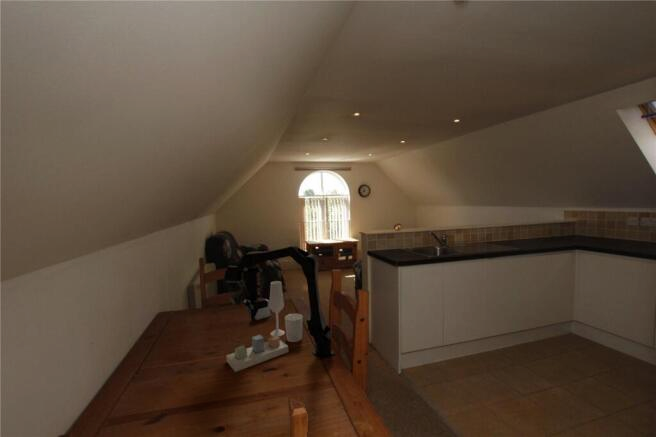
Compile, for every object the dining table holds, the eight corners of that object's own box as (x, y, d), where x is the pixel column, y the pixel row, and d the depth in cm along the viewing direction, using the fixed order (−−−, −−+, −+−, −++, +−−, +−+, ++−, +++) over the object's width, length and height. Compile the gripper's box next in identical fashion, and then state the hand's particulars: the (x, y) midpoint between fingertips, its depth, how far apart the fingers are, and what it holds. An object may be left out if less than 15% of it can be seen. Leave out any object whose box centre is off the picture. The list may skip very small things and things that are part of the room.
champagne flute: (286, 334, 135) (284, 283, 134) (271, 337, 133) (269, 285, 131) (283, 329, 141) (281, 279, 140) (269, 331, 139) (267, 281, 138)
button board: (288, 351, 119) (288, 345, 119) (235, 371, 106) (235, 365, 106) (277, 343, 126) (277, 338, 126) (226, 361, 113) (226, 355, 113)
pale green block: (247, 361, 111) (246, 348, 111) (238, 364, 109) (238, 351, 109) (243, 358, 114) (243, 345, 114) (235, 361, 112) (234, 348, 112)
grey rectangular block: (264, 350, 116) (263, 337, 115) (255, 352, 113) (255, 340, 113) (260, 346, 118) (259, 334, 118) (252, 349, 116) (251, 337, 116)
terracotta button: (279, 349, 120) (279, 337, 120) (272, 352, 118) (272, 340, 118) (276, 346, 123) (275, 335, 122) (268, 349, 121) (268, 337, 120)
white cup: (300, 343, 126) (299, 320, 126) (282, 342, 128) (282, 319, 127) (305, 335, 134) (304, 314, 133) (288, 334, 135) (288, 313, 135)
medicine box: (266, 314, 161) (265, 298, 161) (270, 316, 158) (270, 300, 157) (253, 318, 156) (252, 302, 155) (257, 320, 153) (256, 304, 152)
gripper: (223, 281, 123) (225, 318, 124) (240, 291, 108) (242, 332, 109) (249, 277, 130) (250, 311, 131) (268, 286, 115) (269, 324, 116)
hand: (252, 319), depth 121 cm, fingers closed
